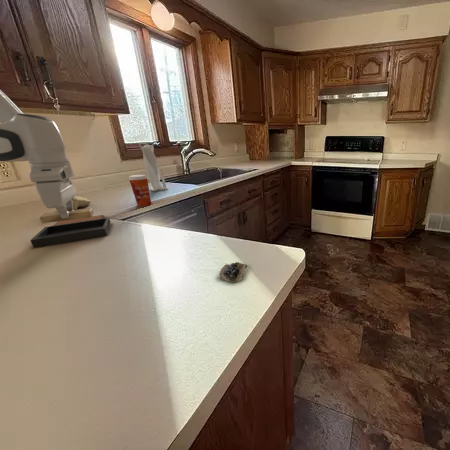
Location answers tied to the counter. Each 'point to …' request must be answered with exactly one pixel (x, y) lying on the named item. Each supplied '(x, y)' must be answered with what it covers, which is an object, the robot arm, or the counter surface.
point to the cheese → (79, 202)
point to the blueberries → (232, 272)
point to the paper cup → (140, 189)
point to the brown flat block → (79, 220)
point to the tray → (71, 232)
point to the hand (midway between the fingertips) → (68, 215)
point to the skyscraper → (152, 168)
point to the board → (73, 215)
